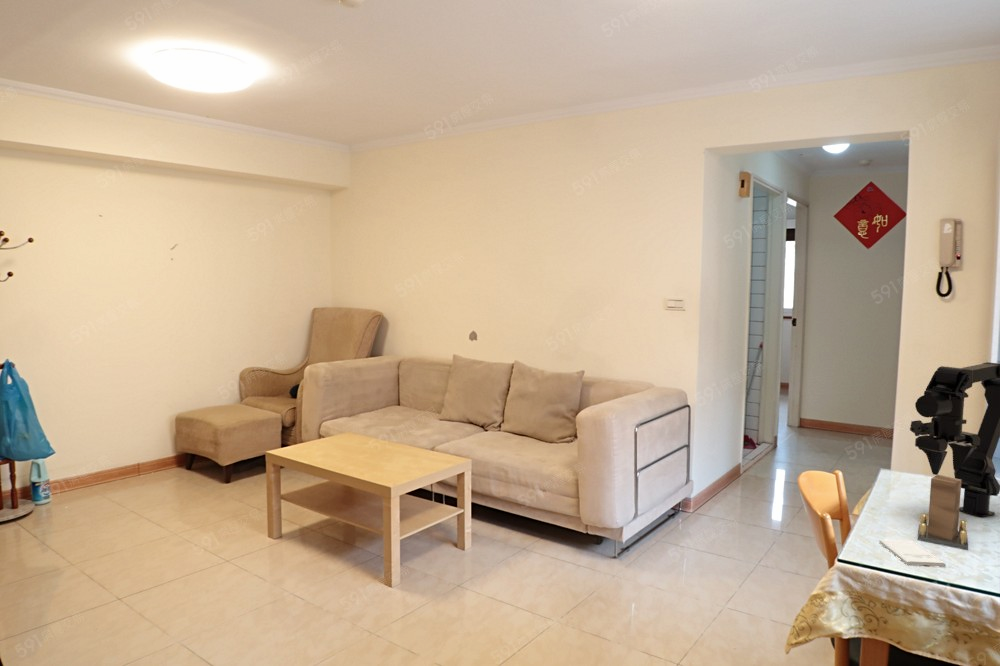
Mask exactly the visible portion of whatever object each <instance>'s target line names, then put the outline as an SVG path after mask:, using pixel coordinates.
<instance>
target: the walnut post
mask: <svg viewBox="0 0 1000 666" xmlns="http://www.w3.org/2000/svg"><path fill="white" fill-rule="evenodd" d="M961 491H962V488H961V479H956V478H955V477H950V476H945V475H942V474H941V475H940V474H938V475H935V476H932V477H931V479H930V491H929V505H928V520H927V525H928V534H931V535H935V536H938V537H942V538H946V539H950V540H952V539H953V538H954V537H956V536H957V535H958V531H959V522H960V511H959V509H960V507H961V506H960V505H961V494H962V493H961Z"/></svg>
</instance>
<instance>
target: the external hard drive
mask: <svg viewBox="0 0 1000 666" xmlns="http://www.w3.org/2000/svg"><path fill="white" fill-rule="evenodd" d="M878 543H879V544H880V545H881V544H882V545H883V546H884V547H883V546H882V545H881V546H882V547H883V548H885V547H886V548H887V549H888V550H889V551H888V550H887V549H886V548H885V549H886V550H887V551H888V552H890V551H891V552H892V553H893V554H895V555H896V556H897V557H898V558H900V559H901V560H902V561H903V562H904V563H903V562H902V561H901V560H900V559H899V560H900V561H901V562H902V563H903V564H905V563H906V564H907V565H906V564H905V565H906V566H911V565H919V566H918V567H930V566H939V567H938V568H946V563H945V562H944V561H942V560H941V559H940V558H938V557H937V556H935V555H934V554H933V553H932V552H930V551H929V550H928V549H926V548H924V547H923V546H922V545H920V544H919V543H917V542H916V541H915V540H904V539H885V538H884V539H883V538H881V539H879V542H878ZM891 552H890V553H891ZM892 553H891V554H892ZM893 554H892V555H893ZM895 555H894V556H895ZM896 556H895V557H896ZM897 557H896V558H897ZM898 558H897V559H898ZM923 565H925V566H923ZM927 565H929V566H927Z"/></svg>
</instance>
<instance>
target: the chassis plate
mask: <svg viewBox="0 0 1000 666" xmlns="http://www.w3.org/2000/svg"><path fill="white" fill-rule="evenodd" d="M928 519H929V514H927V513H921V514H920V523H919V524H918V531H917V539H916V540H917V541H921V542H925V543H927V542H928V543H931V542H932V544H936V545H941V546H947V547H951V548H957V549H961V550H965V551H968V550H969V540H968V531H967V521H966V520H960V519H959V523H958V535H957V536H956V537H954V538H953V539H952V540H950V539H946V538H942V537H938V536H935V535H931V534H928Z"/></svg>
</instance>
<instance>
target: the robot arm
mask: <svg viewBox="0 0 1000 666" xmlns="http://www.w3.org/2000/svg"><path fill="white" fill-rule="evenodd" d="M975 383H980V384H981V386H982V388H983V389H984V395H983V396H984V399H985V400H986V403H987V406H986V410H985V411H984V415H983V418H982V420H981V423H980V426H979V429H978V432H977V433H973V432H968V431H963V425H966V424H967V421H968V420H967V419H964V407H965V399H966V398H969V393H967V392H966V391H967V390H968V389H970V388H972V387H973V384H975ZM914 405H915V410H916V412H917V413H918V414H919V415H920V416H921V417H923V418H931V420H930V422H923V421H921V420H920V419H919V420H918V419H917V420H911V422H910V428H909V431H910V432H912V433H913V434H914V437H916V438H915V441H914V446H915V447H917V448H918V450H921V451H922V452H923V453H924V454H925V455H926V458H927V460H928V463H929V466H930V470H931V473H932V475H935V476H936V475H939V472H940V471H941V468H942V466H943V464H944V461H945V459H946V457H947V454H948V451H947V449H948V447H950V449H951V451H952V468H953V471H954V472H953V474H954V475H953V476H954V478H956V479H961V489H963V490H964V491H963V493H964V494H963V501H962V502H963V503H962V506H960V509H959V512H963V513H966V514H969V515H973V516H976V517H979V518H984V517H989V516H993V515H996V512H995V511H993V510H992V511H991V510H990V502H991V501H990V499H991V497H993V496H994V497H998V495H999V494H1000V482H999V481H998V480H997V478H996V472H997V470H996V468H995V465H994V462H993V458H994V454H995V453H996V449H997V447H998V446H997V445H998V444H999V441H1000V363H996V362H988V361H987V362H983V363H980V364H976V365H969V366H965V367H964V366H963V367H952V366H943V365H941V366H939V367H938V368H936V370H935V371H934V372H933V375H932V376H931V379H930V381H929V382H928V383H927V386H926V388H925V390H924V392H923V395H920V396H919V397H918V398H917V400H916V402H915V403H914Z"/></svg>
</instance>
